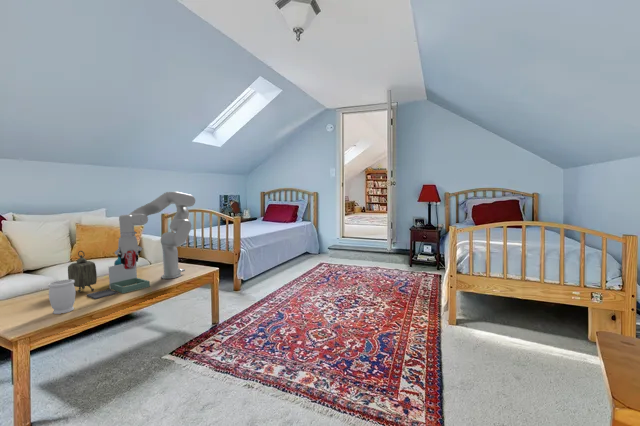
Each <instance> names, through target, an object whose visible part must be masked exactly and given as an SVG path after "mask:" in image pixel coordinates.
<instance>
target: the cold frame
mask: <svg viewBox="0 0 640 426" xmlns="http://www.w3.org/2000/svg"><path fill="white" fill-rule="evenodd" d="M108 279H109V281H108V282H109V289H111V290H113V291H116V292H118V293H121V294H125V293H129V292H133V291H137V290H142V289H146V288H149V287H151V284H150V280H147V279H144V278H139V277H138V274H137V266H136V267H135V268H134V269H130V270H126V269H124V266H123V264H121V265H116V266H114V265H112V266H108Z"/></svg>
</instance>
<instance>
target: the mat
mask: <svg viewBox="0 0 640 426" xmlns="http://www.w3.org/2000/svg"><path fill="white" fill-rule="evenodd" d="M118 294H119V292H117V291H114V290H111V289H110V288H108V289H104V290H100V291H95V292H94V291H93V292H91V293H87V294H86V295H85V296H87V297H88V298H91V299H94V300H98V299H102V298H106V297H110V296H111V297H112V296H113V295H118Z"/></svg>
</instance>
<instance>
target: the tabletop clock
mask: <svg viewBox="0 0 640 426" xmlns="http://www.w3.org/2000/svg"><path fill="white" fill-rule="evenodd" d="M80 253H82V254H80ZM77 255H78V257H79V258H78V259H77V260H76V262H72V263H71V264H69V265H68V266H67V278H68V279H67V280H75V282H74V283H73V284H74V286H75V288H78V289H77V292H78V293H81V292H82V290H81V289H84V290H85V288H86V287H88V288H90V291H91V292H94V291H95V288H94V287H91V286H92V285H96V284H97V280H98V278H97V277H98V276H97V265H96V263H95V262H94V261H91V260H87V258H85V257H86V256H85V252H84V251H83V250H78V252H77Z"/></svg>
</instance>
